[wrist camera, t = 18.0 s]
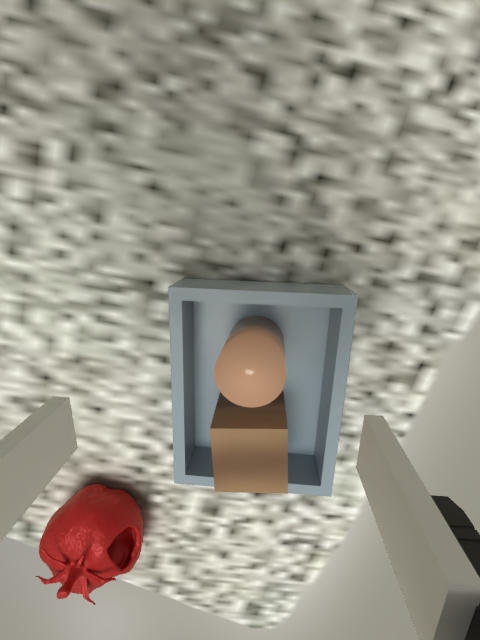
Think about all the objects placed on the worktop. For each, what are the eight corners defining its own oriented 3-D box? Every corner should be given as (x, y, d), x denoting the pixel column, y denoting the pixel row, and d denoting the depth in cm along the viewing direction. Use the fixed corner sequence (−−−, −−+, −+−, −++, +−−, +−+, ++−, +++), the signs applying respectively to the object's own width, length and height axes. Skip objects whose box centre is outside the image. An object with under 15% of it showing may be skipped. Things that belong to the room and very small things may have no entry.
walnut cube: (220, 391, 31) (209, 428, 25) (283, 390, 30) (287, 429, 24) (223, 444, 32) (214, 491, 26) (283, 445, 32) (288, 493, 26)
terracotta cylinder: (232, 312, 28) (217, 335, 22) (288, 320, 28) (291, 346, 21) (226, 363, 30) (210, 401, 23) (279, 372, 29) (280, 412, 23)
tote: (183, 278, 28) (168, 287, 24) (343, 285, 28) (358, 295, 23) (186, 449, 33) (174, 483, 29) (322, 460, 32) (331, 496, 28)
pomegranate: (58, 518, 38) (-8, 608, 29) (86, 458, 35) (22, 537, 26) (133, 556, 38) (91, 655, 29) (167, 499, 35) (131, 591, 26)
